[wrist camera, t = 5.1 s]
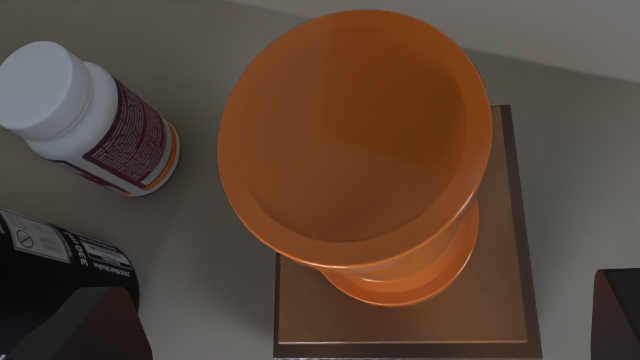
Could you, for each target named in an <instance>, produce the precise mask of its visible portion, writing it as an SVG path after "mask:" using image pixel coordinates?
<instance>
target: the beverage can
mask: <svg viewBox="0 0 640 360" xmlns="http://www.w3.org/2000/svg"><path fill="white" fill-rule="evenodd" d="M113 286H120V287H123V288H124V289H126V290H127V292H128V293H129V295H130V297H131V299H132V302H133V304H134V307H135V309H136V312H137V314H138V308H139V297H140V293H139V284H138V279H137V276H136V273H135V270H134V268H133V266H132V264H131V262H130V261H129V259H128V258H127V257H126V256H125V255H124V254H123V253H122V252H121V251H120V250H119V249H118V248H116V247H115V246H113V245H111V244H109V243H106V242H103V241H100V240H97V239H94V238H91V237H89V236H86V235H83V234H80V233H77V232H74V231H71V230H68V229H65V228H62V227H59V226H56V225H53V224H50V223H48V222H45V221H42V220H39V219H36V218H33V217H30V216H27V215H24V214H21V213H18V212H15V211H12V210H10V209H7V208H4V207H1V206H0V360H5V358H6V357H7V356H8V354H9V353H10V352H11V351H12V350H13V349H14V348H15V347H16V346H17V345H18V344H19V343H20V342H21V341H22V339H23V338H24V337H25V336H26V335H28V334H29V333H31V332H32V331H33V330H35V329H36V328H38V327H39V326H40V325H42V324H43V323H45V322H46V321H47V320H49V319H50V318H51V317H52V316H53V315H54V314H55V313H56V312H57V311H58V310H59V308H60V307H61V306H62V305H63V304H64V303H65V302H66V301H67V300H68V299H69V297H70V296H71V295H72V294H73V293H74V292H75V291H77V290H78V289H80V288H87V287H113Z"/></svg>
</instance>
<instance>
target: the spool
mask: <svg viewBox="0 0 640 360" xmlns="http://www.w3.org/2000/svg"><path fill="white" fill-rule="evenodd" d="M492 136H493V123H492V111H491V106H490V101H489V96H488V93H487V91H486V88H485V85H484V82H483V80H482V78H481V76H480V74H479V72H478V71H477V69H476V67H475V65H474V64H473V63H472V61H471V60H470V59H469V57H468V56H467V55H466V53H465V52H464V51H463V50H462V49H461V48H460V47H459V46H458V45H457V44H456V43H455V42H454V41H453V40H452V39H450V38H449V37H448V36H446V35H445V34H444V33H442V32H441V31H439V30H438V29H436V28H434V27H432V26H431V25H429V24H427V23H425V22H423V21H420V20H418V19H415V18H413V17H410V16H407V15H403V14H399V13H395V12H389V11H382V10H351V11H343V12H338V13H334V14H328V15H325V16H322V17H319V18H316V19H313V20H310V21H308V22H306V23H304V24H301V25H299V26H297V27H295V28H293V29H292V30H290V31H288V32H287V33H285V34H283V35H282V36H280V37H279V38H278V39H276V40H275V41H273V42H272V43H271V44H269V45H268V46H267V47H266V48H265V49H264V50H263V51H262V52H261V53H260V54H258V55H257V56H256V58H255V59H254V60H253V61H252V62H251V63H250V64H249V66H248V67H247V68H246V69H245V71H244V72H243V73H242V75H241V76H240V78H239V79H238V81H237V82H236V84H235V86H234V88H233V90H232V91H231V93H230V95H229V98H228V100H227V103H226V105H225V108H224V110H223V114H222V118H221V121H220V125H219V132H218V140H217V159H218V167H219V174H220V178H221V181H222V185H223V189H224V191H225V193H226V196H227V198H228V200H229V203H230V205H231V206H232V208H233V210H234V211H235V213H236V214H237V216H238V218H239V219H240V220H241V221H242V222H243V224H244V225H245V226H246V227H247V228H248V230H249V231H250V232H251V233H253V234H254V235H255V236H256V237H257V238H258V239H259V240H260V241H262V242H263V243H264V244H266V245H267V246H269V247H270V248H272V249H273V250H275V251H276V252H278V253H280V254H281V255H283V256H285V257H286V258H288V259H290V260H292V261H295V262H297V263H299V264H301V265H303V266H307V267H310V268H313V269H316V270H320V271H321V272H322V274H323V275H324V276H325V277H326V278H327V279H328V280H329V281H330V282H331V283H332V284H333V285H334V286H335V287H337V288H338V289H339V290H341V291H342V292H344V293H345V294H347V295H349V296H350V297H352V298H354V299H356V300H359V301H361V302H364V303H367V304H370V305H374V306H379V307H391V308H397V307H407V306H411V305H416V304H419V303H422V302H425V301H427V300H430V299H431V298H433V297H435V296H437V295H439V294H440V293H442V292H443V291H444V290H446V289H447V288H449V287H450V286H451V285H452V284H453V283H454V282H455V281H456V280H457V279H458V278H459V276H460V275H461V274H462V273H463V271H464V270H465V268H466V266H467V265H468V263H469V261H470V259H471V257H472V255H473V252H474V250H475V246H476V242H477V238H478V230H479V208H478V202H477V196H478V194H479V192H480V189H481V187H482V185H483V182H484V180H485V176H486V172H487V168H488V165H489V159H490V153H491V145H492Z"/></svg>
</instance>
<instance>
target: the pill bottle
mask: <svg viewBox="0 0 640 360" xmlns="http://www.w3.org/2000/svg"><path fill="white" fill-rule="evenodd" d="M0 125H1V126H2V127H4V128H6V129H7V130H9V131H11V132H13V133H15V134H17V135H18V136H20V137H22V138H24V139H25V141H26V143H27V144H28V146H29V147H30V148H31V149H32V150H33V151H34V152H35V153H36V154H38V155H39V156H40V157H42V158H44V159H46V160H49V161H51V162H53V163H55V164H57V165H59V166H61V167H64V168H66V169H68V170H70V171H72V172H74V173H76V174H78V175H80V176H82V177H84V178H86V179H89V180H90V181H93V182H95V183H97V184H99V185H101V186H103V187H105V188H107V189H110V190H112V191H114V192H116V193H118V194H121V195H124V196H130V197H136V196H142V195H146V194H149V193H151V192H154V191H155V190H157V189H158V188H160V187H161V186H162V185H163V184H164V183H165V182H166V181H167V180H168V179H169V177H170V176H171V175H172V173H173V171H174V170H175V168H176V166H177V163H178V159H179V154H180V142H179V137H178V134H177V132H176V130H175V129H174V127H173V126H172V125H171V124H170V123H169V122H168V121H167V120H166V119H165V118H163V117H162V116H161V115H160V114H158V113H157V112H156V111H155V110H154V109H152V108H151V107H150V106H149V105H147V104H146V103H145V102H144V101H143V100H141V99H140V98H139V97H138V96H137V95H136V94H134V93H133V92H131V91H130V90H129V89H128V88H127V87H125V86H124V85H123V84H122V83H121V82H119V80H117V79H115V78H114V77H113V76H112V75H111V74H109V73H108V72H107V71H106V70H104V69H103V68H102V67H100V66H98V65H96V64H94V63H91V62H86V61H81V60H80V59H79V58H78V57H76V56H75V55H73V54H72V53H70V52H69V51H68V50H66V49H65V48H64V47H62V46H61V45H59V44H57V43H54V42H50V41H37V42H33V43H30V44H27V45H25V46H23V47H21V48H19V49H18V50H16V51H15V52H13V53H12V54H11V55H10V56H9V57H8V58H7V59H6V60H5V61H4V62H3V63H2V64H1V66H0Z"/></svg>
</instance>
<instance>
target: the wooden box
mask: <svg viewBox="0 0 640 360" xmlns="http://www.w3.org/2000/svg"><path fill="white" fill-rule="evenodd" d="M491 111H492V123H493V136H492V145H491V153H490V159H489V165H488V168H487V172H486V176H485V180H484V182H483V185H482V187H481V189H480V192H479V194H478V196H477V202H478V208H479V230H478V238H477V242H476V246H475V250H474V252H473V255H472V257H471V259H470V261H469V263H468V265H467V266H466V268H465V270H464V271H463V273H462V274H461V275H460V276H459V278H458V279H457V280H456V281H455V282H454V283H453V284H452V285H451V286H450V287H449V288H447V289H446V290H444V291H443V292H442V293H440V294H439V295H437V296H435V297H433V298H431V299H430V300H427V301H425V302H422V303H419V304H416V305H411V306H407V307H397V308H391V307H379V306H374V305H370V304H367V303H364V302H361V301H359V300H356V299H354V298H352V297H350V296H349V295H347V294H345V293H344V292H342V291H341V290H339V289H338V288H337V287H335V286H334V285H333V284H332V283H331V282H330V281H329V280H328V279H327V278H326V277H325V276H324V275H323V274H322V272H321V271H320V270H316V269H313V268H310V267H307V266H303V265H301V264H299V263H297V262H295V261H292V260H290V259H288V258H286V257H285V256H283V255H281V254H280V253H278V252H276V281H275V315H274V350H273V358H274V359H279V360H541V359H542V358H543V356H542V348H541V340H540V332H539V324H538V317H537V309H536V301H535V293H534V285H533V278H532V270H531V262H530V254H529V246H528V238H527V231H526V223H525V215H524V207H523V199H522V192H521V184H520V176H519V168H518V160H517V152H516V145H515V137H514V129H513V121H512V113H511V106H510V105H499V106H491Z"/></svg>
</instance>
